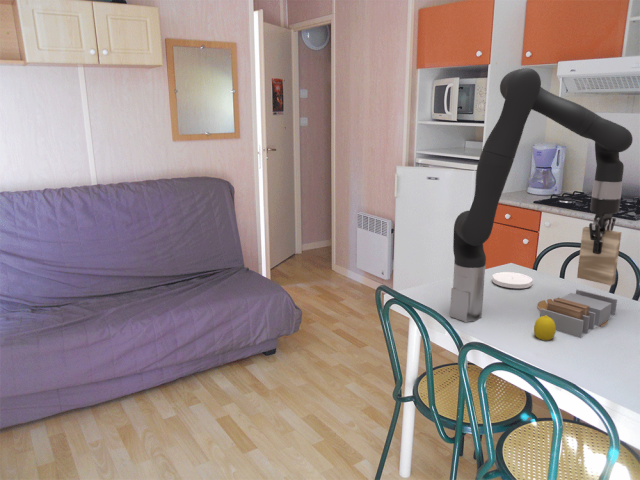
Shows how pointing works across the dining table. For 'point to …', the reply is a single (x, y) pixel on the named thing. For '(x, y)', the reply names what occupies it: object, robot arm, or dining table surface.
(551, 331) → the lemon
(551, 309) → the offcut front
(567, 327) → the rack
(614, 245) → the wooden block
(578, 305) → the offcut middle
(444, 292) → the dining table surface
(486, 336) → the dining table surface
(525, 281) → the plastic lid
